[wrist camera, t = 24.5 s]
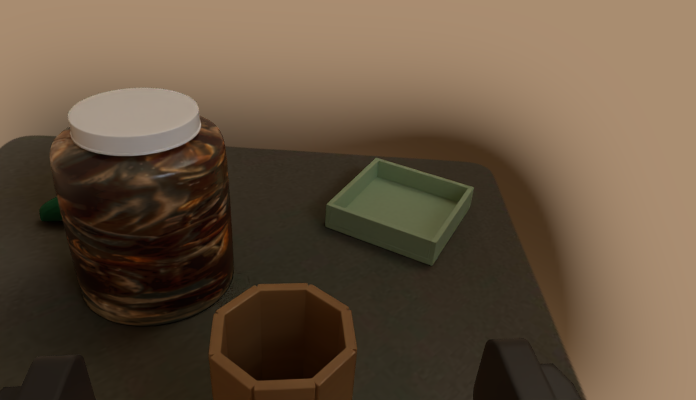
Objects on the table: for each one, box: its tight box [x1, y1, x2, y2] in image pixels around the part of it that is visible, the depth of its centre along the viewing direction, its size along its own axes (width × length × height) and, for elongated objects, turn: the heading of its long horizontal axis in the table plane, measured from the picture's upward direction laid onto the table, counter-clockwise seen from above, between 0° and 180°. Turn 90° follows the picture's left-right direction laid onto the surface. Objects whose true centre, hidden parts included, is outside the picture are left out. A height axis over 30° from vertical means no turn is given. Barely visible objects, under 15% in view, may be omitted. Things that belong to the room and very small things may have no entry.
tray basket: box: [325, 158, 474, 266], centre depth 56 cm, size 11×11×3 cm
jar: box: [50, 88, 234, 326], centre depth 43 cm, size 12×12×15 cm
